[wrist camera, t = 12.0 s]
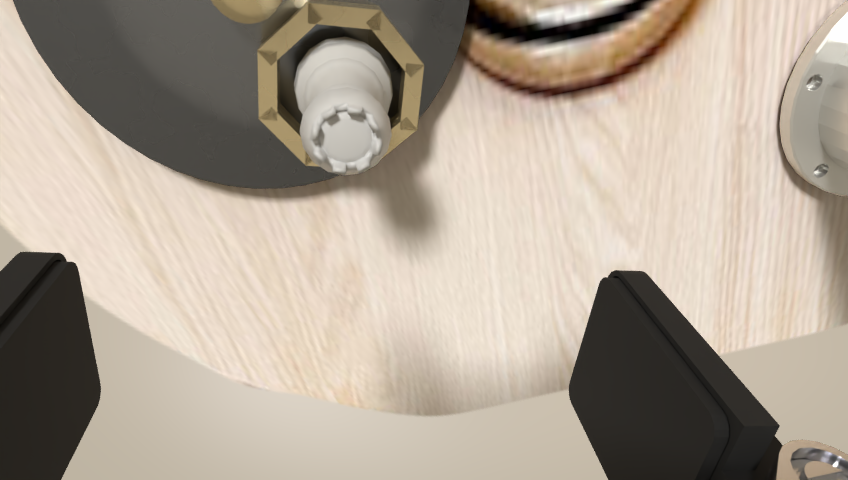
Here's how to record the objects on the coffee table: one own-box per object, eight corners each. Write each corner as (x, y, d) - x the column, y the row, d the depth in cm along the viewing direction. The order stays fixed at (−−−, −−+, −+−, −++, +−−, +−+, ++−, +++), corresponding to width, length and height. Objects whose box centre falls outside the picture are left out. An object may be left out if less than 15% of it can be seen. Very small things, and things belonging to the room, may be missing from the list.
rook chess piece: (367, 146, 28) (376, 218, 22) (279, 106, 27) (260, 171, 20) (408, 62, 27) (433, 112, 20) (317, 16, 25) (311, 52, 18)
